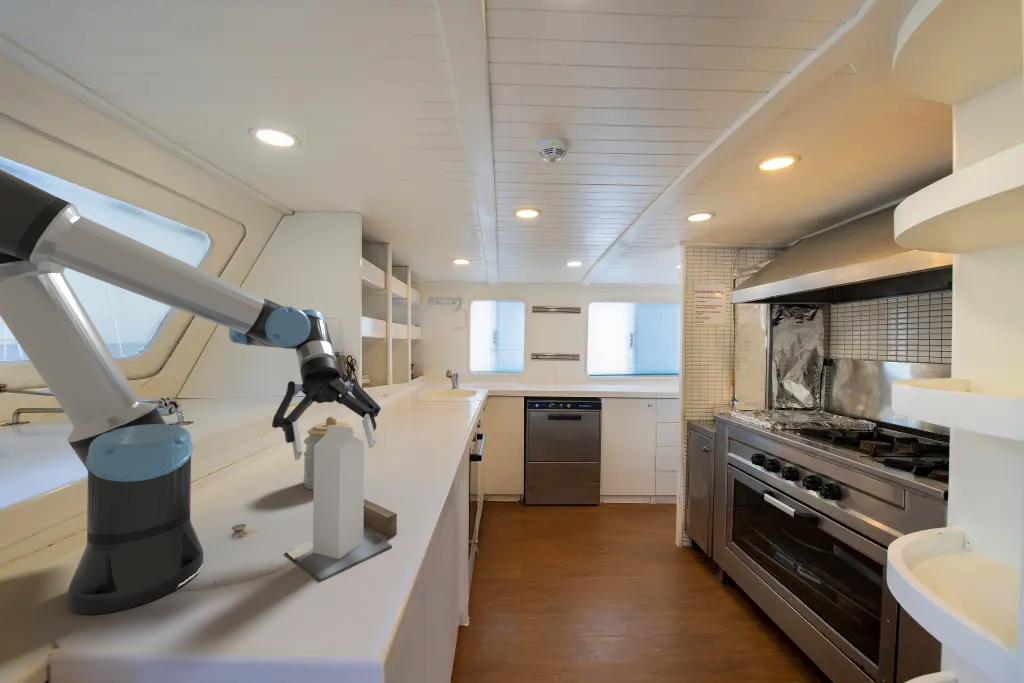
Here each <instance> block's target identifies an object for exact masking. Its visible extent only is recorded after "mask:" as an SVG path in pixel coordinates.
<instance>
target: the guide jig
mask: <svg viewBox="0 0 1024 683" xmlns="http://www.w3.org/2000/svg"><path fill="white" fill-rule="evenodd" d="M397 517H398V514H397V513H396V512H394V511H391V510H390V509H387V508H385V507H382V506H381V505H378V504H376V503H375V502H372V501H369V500H367V499H366V498H364V516H363V526H364V525H365V526H364V527H366V528H368V529H369V530H371V529H372V531H373V530H374V531H373V532H375V531H376V532H375V533H377V534H379V535H380V536H383V537H384V536H385V538H386V537H387V538H386V539H389V538H391V536H392V537H394V536H396V535H397V534H398V533H397V531H398V530H397V528H398V518H397ZM389 548H390V549H392V548H393V545H392V544H391V543H388V542H386V541H385V540H383V539H381V538H379V537H378V536H376V535H374V534H372V533H370V532H368V531H366V530H365V529H363V543H362V544H361V545H359V546H358V547H357V548H355V549H354V550H352V551H351V552H349V553H348V554H346V555H345V556H343V557H342V558H340V559H336V558H332V557H328V556H324V555H320V554H316V553H313V549H312V550H311V551H309V552H307V553H305V554H303V555H301V556H300V557H297V558H295V560H294V561H295V562H296V563H297V564H298V565H300V566H301V567H302V568H303V569H305V571H307V572H308V573H310V574H311V575H312V576H314V577H315V578H316V579H317V580H318V581H320V582H323V581H325V580H326V579H329V578H331V577H332V576H335V575H337V574H339V573H341V572H344V571H345V570H347V569H350V568H352V567H354V566H356V565H358V564H360V563H362V562H364V561H366V560H368V558H369V559H370V557H371V558H373V557H374V556H377V555H379V554H381V553H383V552H385V551H387V549H388V550H389ZM372 556H373V557H372Z"/></svg>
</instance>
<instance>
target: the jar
mask: <svg viewBox="0 0 1024 683" xmlns="http://www.w3.org/2000/svg"><path fill="white" fill-rule="evenodd" d="M337 420H338V419H337V418H336V417H335V416H328V417H327V418H326V420H325V422H322V423H318V424H315V425H314V426H313V427H312V428H310V429H309V430H307V434H308V436H307V437H305V438H304V440H303V443H304V444H305V451H304V452H303V456H304V461H303V462H304V465H303V466H304V468H303V471H304V472H303V485H304V487H305V488H306V489H308V490H312V491H314V446H315V444H316V443H317V442H318V441H319V440H320V439H321V438H322V437H323V436H324V435H325V434H326V433H327V426H328V425H336V426H345V427H352V428H353V430H354V429H355V427H354V426H352V425H350V424H349V423H348V422H343V421H337ZM353 436H355V437H357V438H358V435H357V434H356V433H354V432H353Z"/></svg>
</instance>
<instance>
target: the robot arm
mask: <svg viewBox="0 0 1024 683" xmlns="http://www.w3.org/2000/svg"><path fill="white" fill-rule="evenodd" d="M65 269H69V270H72V271H74V272H77V273H80V274H82V275H86V276H88V277H90V278H94V279H96V280H99V281H101V282H104V283H107V284H110V285H112V286H115V287H118V288H120V289H123V290H126V291H128V292H131V293H134V294H136V295H139V296H141V297H145V298H147V299H150V300H152V301H156V302H157V303H160V304H163V305H166V306H169V307H171V308H174V309H177V310H180V311H182V312H185V313H187V314H190V315H192V316H195V317H197V318H201V319H204V320H206V321H209V322H212V323H213V324H217V325H220V326H222V327H224V328H228V329H229V330H228V337H229V339H230V341H231V342H232V343H233V344H239V345H245V346H257V347H264V348H265V347H266V348H279V349H288V350H295V351H296V355H297V360H298V361H297V362H298V366H299V369H300V370H299V371H300V372H299V373H300V376H301V381H302V383H295V381H292V380H290V381H288V383H287V387H286V390H285V392H286V394H285V395H284V397H283V399H282V400H281V402H280V405H279V407H278V409H277V410H276V412H275V414H274V416H273V419H272V423H271V427H272V428H273V429H277V428H281V429H282V432H284V437H285V442H286V444H289V443H290V444H292V449H293V455H294V460H295V461H296V460H301V457H302V454H303V448H302V442H301V436H300V430H299V425H298V420H299V418H300V417H301V416H302V415H303V414H304V413H305V411H306V410H307V409H308V408H309V407H310V406H312V404H313V403H314V402H315V403H317V404H323V403H334V402H336V403H338V404H339V405H343V406H345V407H346V408H347V409H349V410H351V411H352V412H354V413H355V414H357V415H359V416H360V417H361V418H363V419H362V421H361V422H362V426H363V430H364V435H365V437H366V441H367V445H368V448H369V449H371V448H374V446H375V444H376V443H377V437H376V432H375V431H376V430H377V423H376V420H375V418H376V417H378V416H379V414H380V412H381V408H382V407H381V406H380V405H379V404H378V403H377V402H376V401H375V400H374V399H373V398H372V397H371V396H370V395H369V394H368V393H367V392H366V391H365V390H364V389H363V388H362V387H361V385H360V383H359V381H358V379H357V378H351V380H350V381H344V380H343V379H342V377H341V373H340V368H339V364H338V362H337V357H336V353H335V350H334V347H333V343H332V339H331V335H330V331H329V330H330V328H329V325H328V323H327V320H326V318H325V316H324V315H323V314H322V313H321V312H320V311H319V310H316V309H312V308H311V309H310V308H308V309H299V308H296V307H292V306H284V305H281V304H278V303H276V302H274V301H272V300H269V299H267V298H264V297H263V296H261V295H258V294H256V293H253V292H252V291H250V290H247V289H245V288H243V287H240V286H238V285H237V284H234V283H232V282H230V281H227V280H225V279H222V278H220V277H218V276H216V275H213V274H212V273H209V272H207V271H205V270H202V269H200V268H198V267H196V266H194V265H192V264H189V263H187V262H186V261H183V260H181V259H179V258H176V257H173V256H172V255H169V254H166V253H165V252H163V251H160V250H158V249H156V248H154V247H151V246H149V245H147V244H145V243H142V242H140V241H138V240H136V239H133V238H131V237H129V236H127V235H125V234H122V233H120V232H118V231H117V230H113V229H111V228H110V227H107V226H105V225H103V224H100V223H98V222H96V221H94V220H92V219H89V218H87V217H85V216H82V215H81V214H80V212H79V210H78V208H77V207H76V205H75V204H73V203H71V202H69V201H66V200H65V199H63V198H60V197H58V196H56V195H54V194H52V193H50V192H48V191H46V190H45V189H42V188H40V187H37V186H36V185H34V184H31V183H29V182H27V181H25V180H24V179H22V178H20V177H17V176H15V175H13V174H11V173H9V172H7V171H5V170H3V169H1V168H0V317H1V319H2V320H3V322H4V323H5V325H6V326H7V328H8V330H9V331H10V332H11V334H12V336H13V338H14V339H15V340H16V342H17V343H18V345H19V346H20V348H21V349H22V351H23V352H24V353H25V355H26V356H27V358H28V360H29V361H30V362H31V364H32V365H33V368H34V369H35V370H36V372H38V374H39V376H40V377H41V379H42V380H43V382H44V383H45V385H46V387H47V389H49V392H51V394H52V396H53V397H54V399H55V400H56V401H57V403H58V405H59V406H60V408H61V409H62V410H63V412H64V414H65V415H66V417H67V418H68V420H69V421H70V423H71V424H72V426H73V427H72V430H71V432H70V433H69V435H68V437H67V439H66V440H67V443H68V444H69V445H70V446H71V448H72V450H73V451H74V453H75V454H76V455H77V457H78V459H79V460H80V462H81V463H82V464H83V466H84V467H85V469H86V470H87V501H86V502H87V506H86V507H87V509H86V510H87V511H86V512H87V514H86V517H87V518H86V519H87V520H86V526H87V527H86V530H87V531H86V533H87V534H86V546H85V549H84V551H83V553H82V555H81V558H80V559H79V563H78V565H77V567H76V569H75V571H74V574H73V576H72V579H71V581H70V584H69V585H68V590H67V608H68V609H69V610H70V611H71V612H73V613H76V614H80V615H81V614H82V615H95V614H96V615H98V614H107V613H111V612H112V613H113V612H117V611H122V610H127V609H129V608H133V607H137V606H140V605H143V604H145V603H149V602H152V601H153V600H156V599H158V598H159V599H160V598H161V597H163V596H165V595H168V594H170V593H172V592H173V591H176V590H177V589H178V588H177V587H178V585H179V584H180V583H182V582H184V581H185V580H186V579H188V578H189V577H190V576H192V575H193V574H195V573H196V572H197V571H198V569H199V568H200V567H201V565H202V563H203V564H204V549H203V547H202V544H201V542H200V540H199V537H198V535H197V533H196V531H195V528H194V526H193V524H192V522H191V502H192V501H191V498H192V497H191V493H192V492H191V491H192V490H191V485H192V484H191V483H192V478H191V477H192V474H191V473H192V467H191V466H192V455H193V454H192V453H193V450H194V449H193V448H194V447H193V442H192V436H191V434H190V432H189V430H188V429H186V428H185V427H183V426H179V425H175V424H173V425H171V424H168V423H166V421H165V419H164V418H163V416H162V415H161V414H162V413H160V411H159V410H158V408H157V406H156V404H152V403H149V402H143V401H141V400H139V397H138V395H137V394H136V392H135V390H134V389H133V387H132V386H131V383H130V382H129V381H128V379H127V377H126V376H125V374H124V372H123V371H122V369H121V367H120V365H119V364H118V362H117V361H116V359H115V357H114V356H113V354H112V352H111V350H110V349H109V348H108V346H107V344H106V342H105V341H104V339H103V338H102V336H101V334H100V332H99V331H98V329H97V328H96V326H95V324H94V322H93V321H92V319H91V317H90V316H89V314H88V312H87V311H86V309H85V307H84V305H83V304H82V302H81V301H80V299H79V297H78V296H77V294H76V293H75V290H74V289H73V288H72V286H71V284H70V282H69V281H68V279H67V277H66V275H65V274H64V271H65ZM299 392H302V394H304V395H305V396H304V397H303V399H302V400H301V401H299V403H298V404H297V405H296V406H295V407H294V409H293V410H292V411H291V412H289V414H288V415H287V416H286V417H285V415H286V412H287V411H288V409H289V406H290V405H291V403H292V400H293V398H294V396H296V395H298V393H299ZM350 393H351V394H352V395H351V394H350ZM176 588H177V589H176Z"/></svg>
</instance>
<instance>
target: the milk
mask: <svg viewBox="0 0 1024 683" xmlns="http://www.w3.org/2000/svg"><path fill="white" fill-rule="evenodd" d="M352 427H353V426H352ZM352 427H345V426H336V425H328V426H327V433H326V434H325V435H324V436H323V437H322V438H321V439H320V440H319V441H318V442H317V443H316V444H315V446H314V490H312V492H313V495H312V496H313V497H312V499H313V504H312V506H313V507H312V508H313V509H312V540H313V553H316V554H320V555H324V556H328V557H332V558H336V559H340V558H342V557H343V556H345V555H346V554H348V553H349V552H351V551H352V550H354V549H355V548H357V547H358V546H359V545H361V544H362V543H363V530H364V525H363V516H364V499H365V498H364V497H365V492H364V490H365V441H364V440H363V439H361V438H359V437H358V436H357V437H355V436H353V433H354V429H353V428H352Z"/></svg>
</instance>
